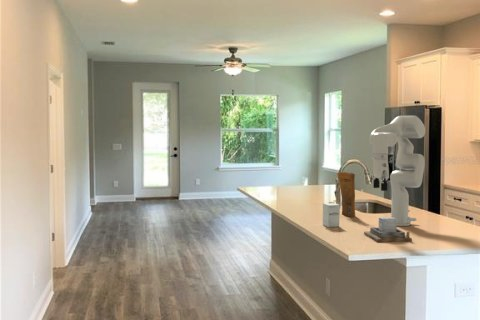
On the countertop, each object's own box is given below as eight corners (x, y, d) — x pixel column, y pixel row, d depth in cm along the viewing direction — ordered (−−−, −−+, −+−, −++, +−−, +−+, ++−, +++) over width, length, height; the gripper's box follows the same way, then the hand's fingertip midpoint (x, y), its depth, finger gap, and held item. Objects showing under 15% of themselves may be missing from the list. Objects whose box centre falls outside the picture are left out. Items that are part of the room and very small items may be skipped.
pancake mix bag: (349, 218, 305) (350, 173, 303) (335, 213, 323) (336, 170, 321) (359, 217, 306) (359, 173, 305) (345, 212, 325) (345, 170, 323)
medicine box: (392, 233, 253) (393, 217, 252) (396, 235, 248) (396, 218, 248) (378, 234, 252) (378, 217, 251) (381, 236, 247) (382, 219, 247)
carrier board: (396, 233, 260) (396, 225, 260) (411, 241, 242) (412, 232, 242) (363, 234, 258) (364, 225, 258) (376, 242, 240) (376, 233, 240)
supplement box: (327, 227, 276) (328, 205, 276) (322, 224, 284) (322, 203, 283) (339, 226, 278) (340, 204, 278) (333, 224, 286) (334, 202, 285)
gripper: (394, 158, 247) (394, 191, 249) (380, 155, 264) (380, 186, 266) (380, 158, 246) (380, 192, 248) (367, 155, 263) (367, 187, 265)
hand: (380, 189), depth 257 cm, fingers open, 9 cm apart
